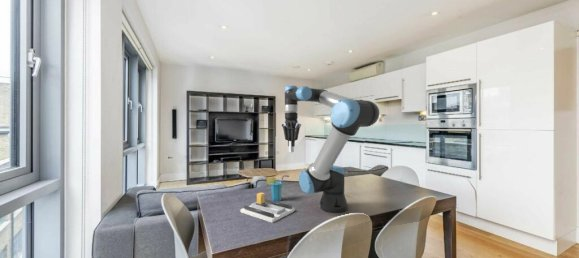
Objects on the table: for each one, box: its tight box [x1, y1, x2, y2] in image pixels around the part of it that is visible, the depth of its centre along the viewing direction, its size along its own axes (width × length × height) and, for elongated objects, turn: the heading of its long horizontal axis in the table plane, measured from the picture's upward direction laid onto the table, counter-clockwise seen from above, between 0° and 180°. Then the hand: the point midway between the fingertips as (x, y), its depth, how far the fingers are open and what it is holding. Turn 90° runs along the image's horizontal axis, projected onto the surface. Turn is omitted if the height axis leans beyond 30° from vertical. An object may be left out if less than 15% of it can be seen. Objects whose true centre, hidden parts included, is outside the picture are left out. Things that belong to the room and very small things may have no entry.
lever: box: [255, 192, 266, 207], centre depth 126 cm, size 4×3×7 cm
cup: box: [265, 174, 290, 202], centre depth 142 cm, size 14×8×15 cm, turn 104°
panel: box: [240, 198, 296, 223], centre depth 123 cm, size 22×18×3 cm
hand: (291, 152), depth 139 cm, fingers closed
